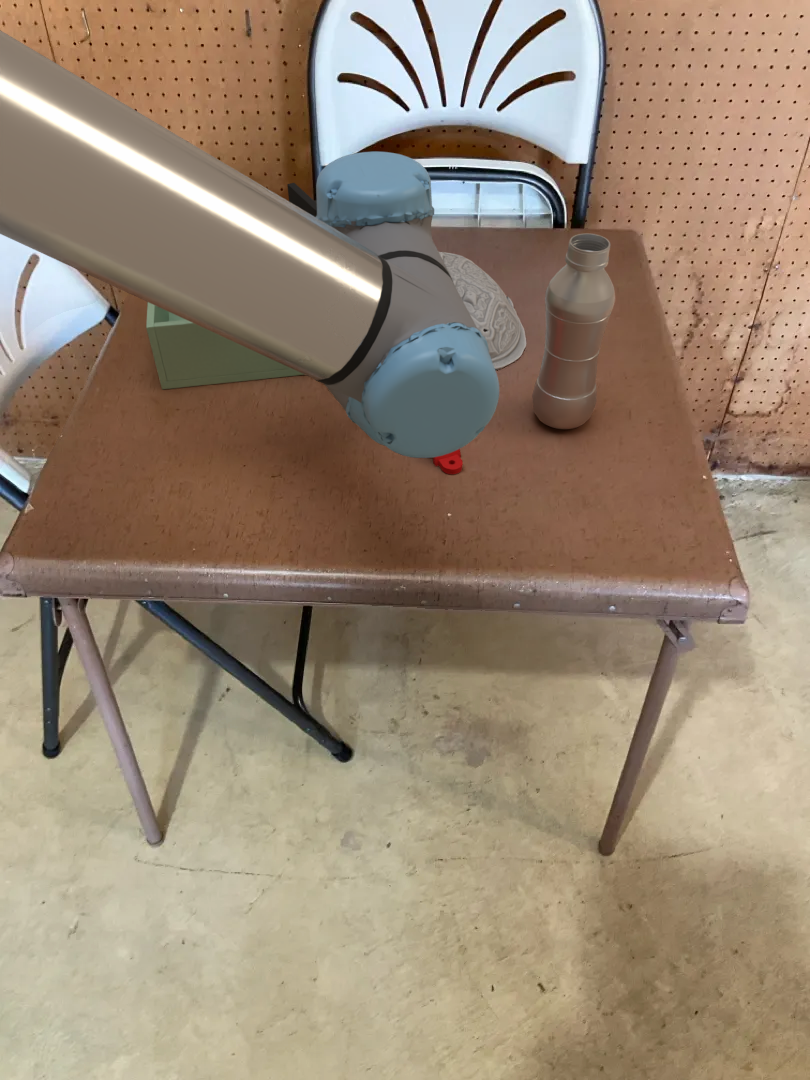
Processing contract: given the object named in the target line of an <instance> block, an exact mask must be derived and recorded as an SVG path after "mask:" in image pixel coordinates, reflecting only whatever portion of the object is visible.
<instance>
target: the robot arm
mask: <svg viewBox="0 0 810 1080" xmlns="http://www.w3.org/2000/svg"><path fill="white" fill-rule="evenodd" d="M317 176H318V177H317V179H316V183H315V184H316V185H315V186H316V187H315V188H316V190H315V191H316V192H315V193H316V199H315V200H314V199H313V198H312V197H311V196H310V195H308V193H307V192H305V191H304V190H303V189H302V188H301V187H300V186H299V185H297V183H296V182H291V183H287V195H288V200H287V199H286V198H284V197H282V196H280V195H278V194H277V193H276V192H274V191H272V190H270V189H268V188H267V187H265V186H264V185H262V184H260V183H259V182H257V181H255V180H253V179H252V178H250V177H248V176H247V175H245V174H244V173H241V172H240V171H238V170H237V169H235V168H234V167H232V166H230V165H228V164H227V163H225V162H223V161H222V160H219V159H218V158H217V157H215V156H213V155H211V154H210V153H208V152H206V151H205V150H203V149H201V148H200V147H198V146H196V145H195V144H193V143H191V142H189V141H188V140H186V139H185V138H183V137H181V136H179V135H178V134H176V133H175V132H172V131H171V130H169V129H167V128H166V127H164V126H162V125H161V124H159V123H158V122H156V121H154V120H152V119H151V118H149V117H148V116H145V115H144V114H142V113H140V112H139V111H138V110H136V109H134V108H132V107H131V106H129V105H127V104H125V103H124V102H122V101H121V100H119V99H117V98H115V97H113V96H112V95H110V94H109V93H107V92H106V91H103V90H102V89H101V88H99V87H97V86H95V85H94V84H92V83H91V82H88V81H87V80H85V79H83V78H82V77H80V76H79V75H77V74H75V73H74V72H71V71H70V70H69V69H67V68H65V67H64V66H61V65H60V64H58V63H57V62H55V61H53V60H52V59H50V58H48V57H47V56H44V55H43V54H41V53H39V52H38V51H36V50H35V49H33V48H31V47H30V46H28V45H26V44H24V43H23V42H21V41H19V40H18V39H16V38H14V37H13V36H11V35H9V34H8V33H6V32H4V31H3V30H1V29H0V235H1V236H3V237H6V238H8V239H9V240H12V241H14V242H17V243H19V244H21V245H24V246H26V247H27V248H30V249H32V250H34V251H36V252H38V253H40V254H43V255H45V256H47V257H49V258H51V259H54V260H55V261H57V262H60V263H62V264H65V265H67V266H69V267H71V268H73V269H75V270H78V271H80V272H81V273H84V274H86V275H87V276H91V277H93V278H94V279H97V280H99V281H101V282H103V283H105V284H108V285H109V286H112V287H114V288H117V289H118V290H121V291H123V292H124V293H127V294H129V295H132V296H134V297H136V298H138V299H140V300H142V301H145V302H147V303H148V302H149V303H151V304H153V305H155V306H157V307H160V308H162V309H164V310H166V311H168V312H170V313H173V314H175V315H177V316H179V317H181V318H183V319H186V320H188V321H190V322H192V323H194V324H196V325H199V326H201V327H203V328H205V329H207V330H209V331H212V332H214V333H216V334H218V335H220V336H222V337H225V338H227V339H229V340H231V341H233V342H235V343H238V344H240V345H242V346H244V347H246V348H248V349H251V350H253V351H255V352H257V353H259V354H261V355H264V356H266V357H268V358H270V359H272V360H274V361H277V362H279V363H281V364H283V365H285V366H287V367H290V368H292V369H294V370H296V371H298V372H300V373H303V374H305V375H304V376H307V377H308V378H309V377H310V378H311V379H313V380H315V381H316V382H319V383H321V384H323V385H324V386H325V387H326V389H327V390H328V391H329V392H330V394H331V395H332V396H333V397H334V399H335V400H336V401H337V402H338V403H339V405H340V406H341V407H342V409H343V410H344V411H345V414H346V415H347V418H349V420H351V422H352V423H353V424H355V425H356V426H358V427H359V428H360V429H361V431H363V432H364V433H365V434H366V435H367V436H368V437H369V438H370V439H371V440H373V441H374V442H375V443H376V444H379V445H381V446H384V447H386V448H387V449H388V450H390V451H391V452H393V453H396V454H398V455H400V456H404V457H407V458H414V459H415V458H416V459H431V458H432V459H433V457H438V456H443V455H446V454H449V453H451V452H454V451H456V450H458V449H460V450H461V449H462V448H464V447H466V446H467V445H468V444H471V442H472V441H473V440H475V439H476V438H477V437H478V435H479V434H480V433H482V432H483V431H484V429H485V428H486V426H487V425H488V424H489V423H490V422H491V420H492V418H493V417H494V415H495V413H496V410H497V408H498V404H499V399H500V382H499V377H498V373H497V370H496V369H495V368H494V365H493V362H492V360H491V357H490V354H489V347H488V343H487V340H486V339H485V337H484V336H483V335H482V333H481V332H480V331H479V330H478V329H477V327H476V325H475V323H474V321H473V319H472V317H471V316H470V314H469V312H468V310H467V308H466V306H465V304H464V302H463V300H462V299H461V297H460V295H459V293H458V291H457V289H456V287H455V285H454V283H453V281H452V278H451V276H450V274H449V272H448V270H447V268H446V266H445V264H444V262H443V260H442V258H441V256H440V253H439V252H440V251H439V249H438V247H437V246H436V244H435V242H434V240H433V234H432V221H433V216H434V215H435V207H434V206H433V198H432V197H433V196H432V179H431V177H430V174H429V172H428V171H427V169H426V168H425V166H424V165H422V164H421V163H420V162H419V161H418V160H415V159H413V158H411V157H409V156H406V155H403V154H400V153H394V152H390V151H389V152H388V151H362V152H355V153H354V152H353V153H350V154H346V155H343V156H340V157H338V158H336V159H335V160H332V161H331V162H329V163H328V164H326V165H325V166H324V167H323V168H322V169H321V171H320V172H319V175H317Z"/></svg>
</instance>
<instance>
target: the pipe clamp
mask: <svg viewBox="0 0 810 1080" xmlns="http://www.w3.org/2000/svg"><path fill="white" fill-rule="evenodd" d="M432 459H433V461H432V462H433V465H434V467H439V468H440V470H441V471H442V472H443V473H445V474H447V475H457V474H459V473H461V472H462V470H463V464H464V462H463V459H462V451H461V448H460V449H458V450H456V451H454V452H451V453H449V454H446V455H443V456H438V457H432Z"/></svg>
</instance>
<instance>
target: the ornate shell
mask: <svg viewBox="0 0 810 1080" xmlns="http://www.w3.org/2000/svg"><path fill="white" fill-rule="evenodd" d="M439 253H440V256H441V258H442V260H443V262H444V264H445V266H446V268H447V270H448V272H449V274H450V276H451V278H452V281H453V283H454V285H455V287H456V289H457V291H458V293H459V295H460V297H461V299H462V300H463V302H464V304H465V306H466V308H467V310H468V312H469V314H470V316H471V317H472V319H473V321H474V323H475V325H476V327H477V329H478V330H479V331H480V332H481V333H482V335H483V336H484V337H485V339H486V340H487V343H488V347H489V354H490V357H491V360H492V362H493V365H494V368H495V370H496V371H497V370H498V371H499V369H503V368H506V367H507V366H509V365H511V364H512V363H514V362H515V361H517V360H519V358H520V357H522V355H523V353H524V350H525V349H526V346H527V338H526V337H527V336H526V331H525V328H524V326H523V324H522V322H521V319H520V317H519V315H518V313H517V310H516V309H515V308H514V303H513V301H512V299H511V298H510V297H509V296H508V295H506V294H505V292H504V291H503V289H502V288H501V287H500V285H499V284H498V283H497V282H496V281H495V280H494V278H492V277H491V276H490V275H489V274H488V273H486V271H484V270H483V269H482V268H481V267H480V266H478V265H477V264H476V263H474V261H472V260H471V259H469V258H466V257H465V256H463V255H460V254H456V253H452V252H445V251H439Z"/></svg>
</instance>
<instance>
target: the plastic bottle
mask: <svg viewBox="0 0 810 1080" xmlns="http://www.w3.org/2000/svg"><path fill="white" fill-rule="evenodd" d="M610 250H611V242H610V240H609V239H608V238H607V237H604V236H602V235H600V234H596V233H587V232H586V233H578V234H575V235H573V236H571V238H569V241H568V246H567V251H566V253H565V257H564V261H565V263H566V264H565V265H564V266H562V267H561V268H560V269H559V270H558V271H557V272H556V273H555V275H554V276H552V278H551V279H550V280H549V283H548V285H547V287H546V290H545V294H544V295H545V296H544V303H545V304H544V306H545V335H544V349H543V355H542V360H541V364H540V368H539V373H538V375H537V378H536V381H535V384H534V387H533V389H532V394H531V400H532V410H533V413H534V414H535V416H536V417H537V418H538V419H539V421H540V422H541V423H542V424H544V425H546V426H547V427H548V426H549V427H550V428H553V429H558V430H572V429H576V428H579V427H581V426H582V425H584V424H585V423H586V422H588V421H589V420H590V419H591V417H592V416H593V413H594V410H595V408H596V405H597V395H598V392H597V372H598V363H599V362H598V360H599V355H600V351H601V347H602V343H603V339H604V335H605V332H606V329H607V327H608V325H609V324H608V323H609V321H610V317H611V316H612V312H613V310H614V307H615V306H614V305H615V303H616V291H615V286H614V284H613V282H612V279H611V277H610V276H609V273H608V271H606V269H605V268H606V267H608V265H609V261H610V256H609V255H610Z"/></svg>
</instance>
